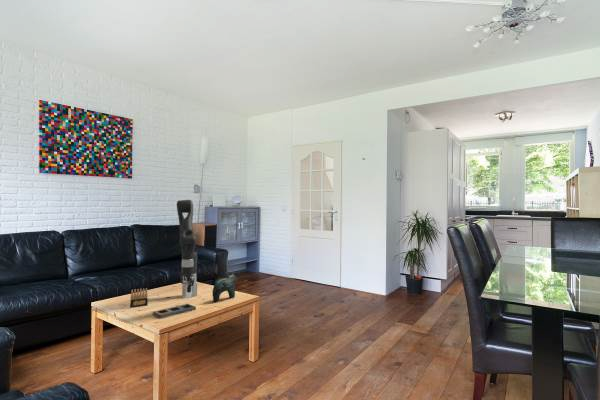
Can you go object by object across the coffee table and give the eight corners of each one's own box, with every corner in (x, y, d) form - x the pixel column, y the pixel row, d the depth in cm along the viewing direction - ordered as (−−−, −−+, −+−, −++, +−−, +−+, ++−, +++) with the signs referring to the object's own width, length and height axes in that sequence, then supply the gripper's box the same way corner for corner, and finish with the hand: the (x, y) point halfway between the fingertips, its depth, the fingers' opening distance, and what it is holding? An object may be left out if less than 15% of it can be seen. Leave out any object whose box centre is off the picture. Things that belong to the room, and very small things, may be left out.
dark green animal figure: (232, 296, 255) (233, 270, 255) (238, 297, 251) (238, 271, 251) (210, 301, 239) (211, 273, 240) (216, 303, 235) (217, 275, 236)
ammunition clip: (130, 307, 221) (130, 289, 222) (129, 307, 223) (130, 289, 223) (147, 305, 227) (148, 287, 228) (147, 304, 229) (147, 287, 229)
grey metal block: (188, 296, 224) (188, 282, 224) (191, 297, 221) (192, 283, 221) (182, 297, 220) (182, 283, 220) (185, 298, 217) (186, 284, 217)
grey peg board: (187, 306, 226) (187, 303, 226) (195, 309, 220) (195, 306, 220) (152, 314, 208) (152, 311, 208) (160, 318, 202) (160, 314, 202)
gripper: (198, 266, 219) (198, 292, 219) (186, 263, 228) (186, 288, 228) (188, 268, 213) (187, 294, 213) (176, 265, 222) (176, 290, 222)
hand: (187, 291), depth 221 cm, fingers closed on grey metal block, 4 cm apart
